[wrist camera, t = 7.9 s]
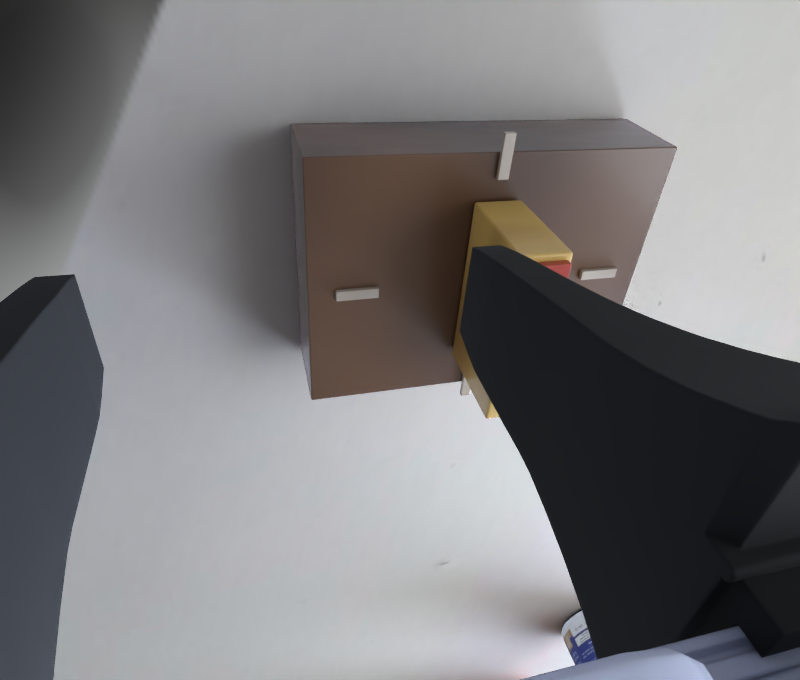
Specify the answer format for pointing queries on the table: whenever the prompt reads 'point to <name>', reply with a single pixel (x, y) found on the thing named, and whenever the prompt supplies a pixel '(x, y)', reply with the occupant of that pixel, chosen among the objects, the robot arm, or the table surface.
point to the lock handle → (521, 234)
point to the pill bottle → (578, 639)
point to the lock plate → (448, 230)
